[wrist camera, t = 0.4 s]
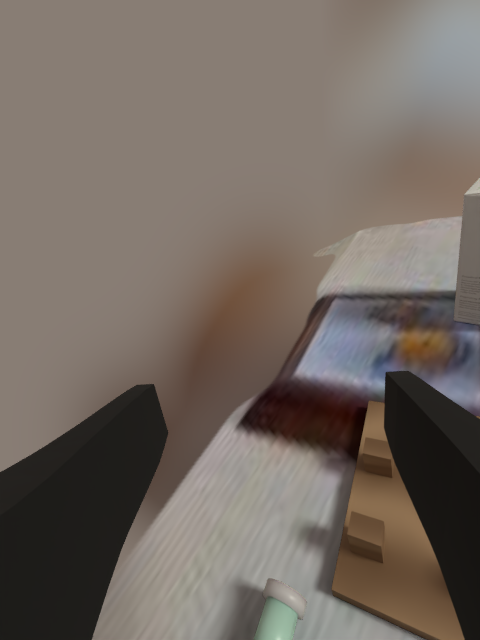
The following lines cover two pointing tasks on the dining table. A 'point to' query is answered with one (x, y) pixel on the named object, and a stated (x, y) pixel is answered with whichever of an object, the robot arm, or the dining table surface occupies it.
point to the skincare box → (469, 260)
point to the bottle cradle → (390, 546)
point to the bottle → (280, 612)
